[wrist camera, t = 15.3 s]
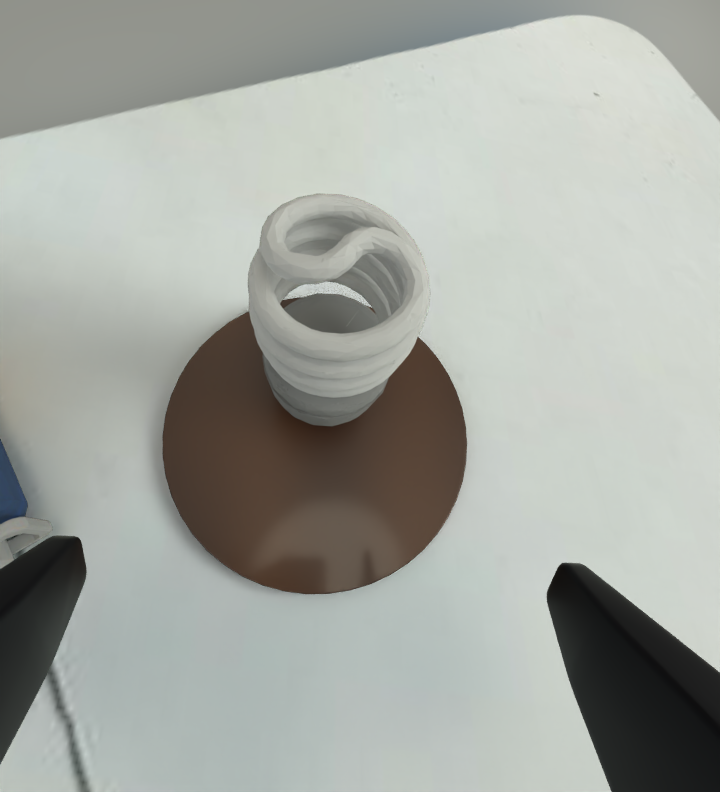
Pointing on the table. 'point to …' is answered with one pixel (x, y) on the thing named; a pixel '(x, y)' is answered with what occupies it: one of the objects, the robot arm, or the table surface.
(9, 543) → the spray gun
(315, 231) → the light bulb
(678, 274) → the table surface
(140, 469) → the table surface
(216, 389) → the disc
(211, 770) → the table surface
